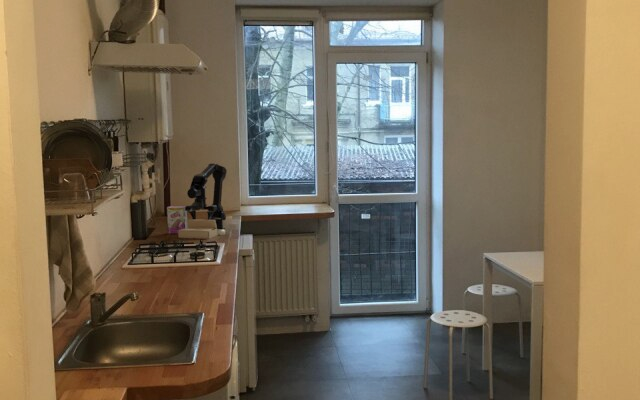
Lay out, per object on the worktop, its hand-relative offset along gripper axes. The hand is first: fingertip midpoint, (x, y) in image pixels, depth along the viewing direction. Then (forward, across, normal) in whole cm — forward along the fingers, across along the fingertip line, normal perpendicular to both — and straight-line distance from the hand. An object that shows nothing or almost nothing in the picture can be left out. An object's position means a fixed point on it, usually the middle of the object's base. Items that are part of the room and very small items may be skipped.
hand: (201, 222), depth 400 cm
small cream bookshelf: (+8, 0, -6) cm, 10 cm away
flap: (+1, 0, -1) cm, 1 cm away
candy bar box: (+8, -18, +3) cm, 20 cm away
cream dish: (+8, +9, +4) cm, 13 cm away
